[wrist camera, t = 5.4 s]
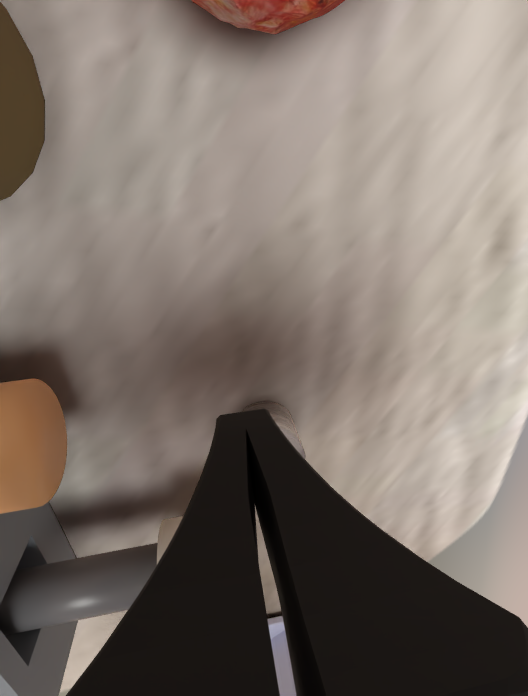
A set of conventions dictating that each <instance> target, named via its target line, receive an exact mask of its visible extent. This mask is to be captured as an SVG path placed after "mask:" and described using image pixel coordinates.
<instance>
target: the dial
mask: <svg viewBox="0 0 528 696" xmlns="http://www.w3.org/2000/svg"><path fill="white" fill-rule="evenodd" d="M264 408H265V409H266V410H267V411H269V413H270V415H271V416H272V418H273V420H274V421H275V423H276V424H277V425H278V427H279V428H280V430H281V431H282V432H283V434H284V435H285V436H286V438H287V439H288V440H289V441H290V443H291V444H292V445H293V446H294V447H295V449H296V450H297V451H298V452H299V453H300V454H301V456H302V457H303V458H304V459H305V452H304V449H303V446H302V444H301V441H300V438H299V436H298V433H297V430H296V428H295V425H294V422H293V419H292V417H291V414H290V413H289V411H288V410H287V409H286V408H285V407H284V406H282V405H280V404H278V403H275V402H267V401H265V402H258V403H254V404H252V405H250V406H248V407H246V408H245V409H243V410H242V411H241V412H245V411H251V410H258V409H264Z"/></svg>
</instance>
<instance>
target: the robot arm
mask: <svg viewBox="0 0 528 696" xmlns="http://www.w3.org/2000/svg"><path fill="white" fill-rule="evenodd" d="M255 507H256V510H257V514H258V518H259V522H260V526H261V530H262V533H263V537H264V541H265V545H266V549H267V552H268V556H269V560H270V564H271V568H272V571H273V575H274V579H275V583H276V587H277V591H278V596H279V600H280V605H281V610H282V616H278V617H274V618H269V619H267V614H266V607H265V601H264V595H263V589H262V583H261V576H260V570H259V564H258V549H257V533H256V518H255ZM66 696H528V628H527V626H526V625H525V624H524V623H523V622H522V621H521V619H520V618H519V617H517V616H516V615H514V614H512V613H510V612H509V611H507V610H505V609H504V608H502V607H500V606H498V605H497V604H495V603H493V602H491V601H490V600H488V599H486V598H485V597H483V596H481V595H479V594H478V593H476V592H474V591H472V590H471V589H469V588H467V587H465V586H464V585H462V584H460V583H459V582H457V581H455V580H454V579H452V578H451V577H449V576H448V575H446V574H445V573H443V572H441V571H440V570H438V569H437V568H435V567H434V566H432V565H431V564H429V563H428V562H426V561H425V560H423V559H422V558H420V557H419V556H417V555H416V554H415V553H413V552H412V551H410V550H409V549H408V548H406V547H405V546H404V545H402V544H401V543H399V542H398V541H397V540H395V539H394V538H392V537H391V536H390V535H388V534H387V533H385V532H384V531H383V530H381V529H380V528H379V527H377V526H376V525H375V524H374V523H372V522H371V521H370V520H369V519H367V518H366V517H365V516H364V515H363V514H361V513H360V512H359V511H358V510H356V509H355V508H354V507H353V506H352V505H351V504H350V503H348V502H347V501H346V500H345V499H344V498H343V497H342V496H341V495H339V494H338V493H337V492H336V491H335V490H334V489H333V488H332V487H331V486H330V485H329V484H328V483H327V482H326V481H325V480H324V479H323V478H322V477H321V476H320V475H319V474H318V473H317V472H316V471H315V470H314V469H313V468H312V467H311V466H310V465H309V464H308V462H307V461H306V460H305V459H304V458H303V457H302V456H301V454H300V453H299V452H298V451H297V450H296V449H295V447H294V446H293V445H292V444H291V443H290V441H289V440H288V439H287V438H286V436H285V435H284V434H283V432H282V431H281V430H280V428H279V427H278V425H277V424H276V423H275V421H274V420H273V418H272V416H271V415H270V413H269V411H267V410H266V409H265V408H264V409H258V410H251V411H245V412H238V413H232V414H225V415H220V416H219V417H218V418H217V419H216V428H215V433H214V437H213V441H212V445H211V448H210V452H209V455H208V458H207V460H206V463H205V466H204V469H203V472H202V475H201V477H200V480H199V482H198V484H197V487H196V489H195V492H194V494H193V496H192V499H191V501H190V503H189V506H188V508H187V510H186V512H185V514H184V516H183V518H182V520H181V522H180V524H179V526H178V528H177V530H176V532H175V534H174V536H173V538H172V539H171V541H170V543H169V545H168V547H167V548H166V550H165V552H164V554H163V555H162V557H161V559H160V560H159V562H158V564H157V566H156V567H155V569H154V571H153V572H152V574H151V576H150V577H149V579H148V581H147V582H146V584H145V585H144V587H143V589H142V590H141V592H140V593H139V595H138V596H137V598H136V599H135V601H134V602H133V604H132V605H131V607H130V608H129V610H128V611H127V612H126V614H125V615H124V617H123V618H122V620H121V621H120V623H119V624H118V626H117V627H116V629H115V630H114V632H113V633H112V634H111V636H110V637H109V639H108V640H107V642H106V643H105V645H104V646H103V647H102V649H101V650H100V651H99V653H98V654H97V656H96V657H95V658H94V660H93V661H92V662H91V663H90V665H89V666H88V667H87V669H86V670H85V671H84V673H83V674H82V675H81V677H80V678H79V679H78V680H77V682H76V683H75V684H74V686H73V687H72V688H71V690H70V691H69V692H68V693H67V695H66Z"/></svg>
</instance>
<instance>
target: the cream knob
mask: <svg viewBox="0 0 528 696" xmlns="http://www.w3.org/2000/svg"><path fill="white" fill-rule="evenodd" d="M182 518H183V516H180V517H174V518H169V519H164V520H163V521H162V523H161V526H160V530H159V535H158V543H154V544H149V545H144V546H139V547H133V548H128V549H123V550H118V551H112V552H107V553H102V554H97V555H91V556H86V557H81V558H76V559H70V560H65V561H60V562H55V563H49V564H44V565H39V566H34V567H28V568H23V569H18V570H15V573H14V575H13V577H12V579H11V582H10V584H9V586H8V589H7V591H6V593H5V595H4V598H3V600H2V602H1V604H0V630H1V632H2V633H3V634H4V636H5V635H10V634H15V633H20V632H24V631H29V630H34V629H39V628H44V627H48V626H53V625H58V624H63V623H68V622H72V621H77V620H82V619H87V618H91V617H96V616H101V615H106V614H111V613H115V612H120V611H125V610H129V608H130V607H131V605H132V604H133V602H134V601H135V599H136V598H137V596H138V595H139V593H140V592H141V590H142V589H143V587H144V585H145V584H146V582H147V581H148V579H149V577H150V576H151V574H152V572H153V571H154V569H155V567H156V566H157V564H158V562H159V560H160V559H161V557H162V555H163V554H164V552H165V550H166V548H167V547H168V545H169V543H170V541H171V539H172V538H173V536H174V534H175V532H176V530H177V528H178V526H179V524H180V522H181V520H182Z"/></svg>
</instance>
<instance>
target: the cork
mask: <svg viewBox="0 0 528 696" xmlns="http://www.w3.org/2000/svg"><path fill="white" fill-rule="evenodd" d="M44 117H45V100H44V97H43V93H42V89H41V86H40V82H39V79H38V75H37V71H36V68H35V64H34V61H33V57H32V55H31V53H30V51H29V49H28V47H27V46H26V44H25V42H24V40H23V38H22V37H21V35H20V33H19V31H18V29H17V28H16V26H15V24H14V22H13V20H12V19H11V17H10V15H9V13H8V11H7V10H6V8H5V7H4V6H3V5H2V4H1V3H0V201H1V200H3V199H5V198H7V197H9V196H11V195H12V194H13V193H14V192H15V191H16V190H17V189H18V188H19V187H20V186H21V184H22V183H23V182H24V181H25V180H26V179H27V178H28V177H29V176H30V175H31V174H32V173H33V170H34V167H35V164H36V162H37V159H38V156H39V153H40V151H41V148H42V145H43V143H44Z"/></svg>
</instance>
